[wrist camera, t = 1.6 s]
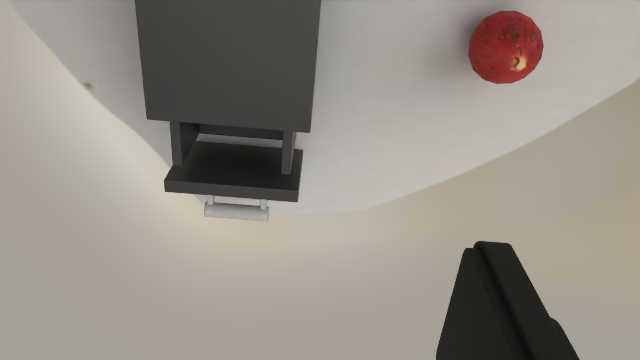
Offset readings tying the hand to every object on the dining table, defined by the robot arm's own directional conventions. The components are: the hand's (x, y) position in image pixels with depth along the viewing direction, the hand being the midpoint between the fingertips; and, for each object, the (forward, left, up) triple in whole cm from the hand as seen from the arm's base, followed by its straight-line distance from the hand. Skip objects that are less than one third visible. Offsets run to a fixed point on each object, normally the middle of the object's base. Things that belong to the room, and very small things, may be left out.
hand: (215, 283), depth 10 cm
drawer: (+13, -5, -38) cm, 40 cm away
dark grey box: (+3, -5, -39) cm, 39 cm away
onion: (+4, +17, -39) cm, 43 cm away
